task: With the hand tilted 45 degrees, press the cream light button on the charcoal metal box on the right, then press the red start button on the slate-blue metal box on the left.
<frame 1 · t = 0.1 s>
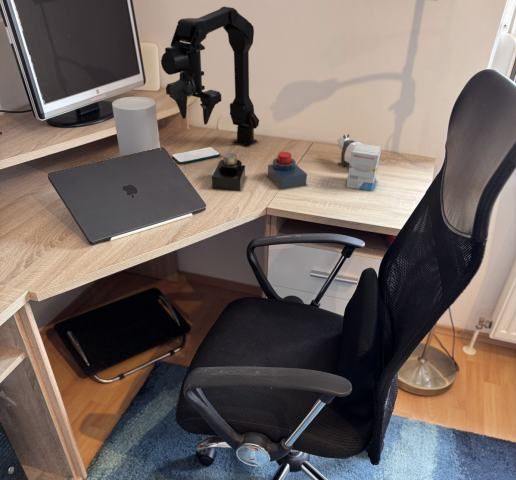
hand: (194, 121, 163), 15 cm above the table, tool pointing down, fingers open, 9 cm apart
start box: (286, 180, 165), on the table
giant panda: (349, 166, 176), on the table
start button: (284, 158, 163), point 7 cm above the table, slide at 0.1 cm
ink box: (360, 184, 165), on the table
light button: (230, 159, 161), point 7 cm above the table, slide at 0.1 cm
light box: (229, 182, 163), on the table
canister: (142, 165, 172), on the table
smartphone: (196, 157, 178), on the table
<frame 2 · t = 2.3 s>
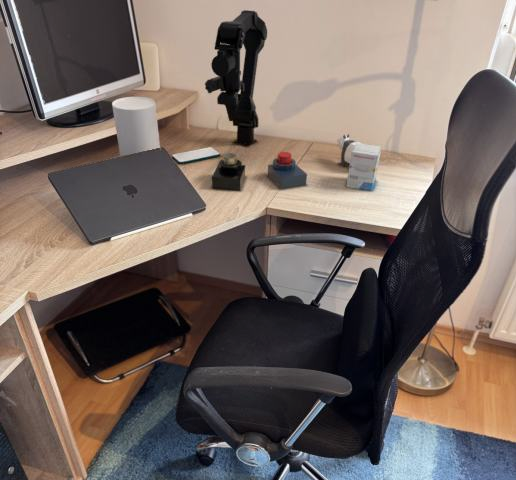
hand: (231, 119, 170), 13 cm above the table, tool pointing down, fingers open, 3 cm apart
nothing on the table moved.
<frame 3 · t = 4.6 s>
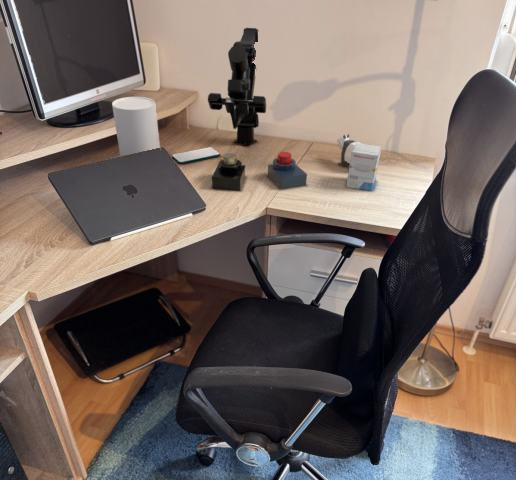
hand: (234, 128, 163), 14 cm above the table, tool tilted 45°, fingers closed
nothing on the table moved.
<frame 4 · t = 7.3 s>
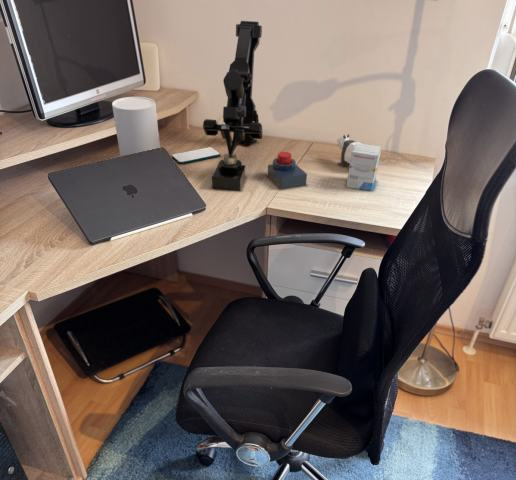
hand: (230, 154, 160), 8 cm above the table, tool tilted 45°, fingers closed, pressing on light button
light button: (230, 160, 161), point 6 cm above the table, slide at 0.0 cm, touching gripper
everything else where it was.
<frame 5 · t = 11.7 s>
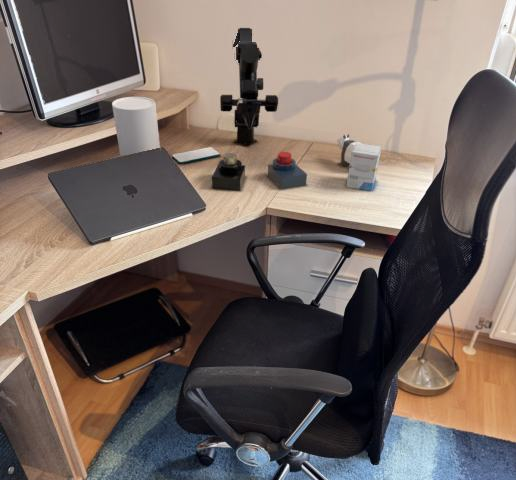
hand: (249, 128, 162), 14 cm above the table, tool tilted 45°, fingers closed
light button: (230, 159, 161), point 7 cm above the table, slide at 0.1 cm
everything else where it was.
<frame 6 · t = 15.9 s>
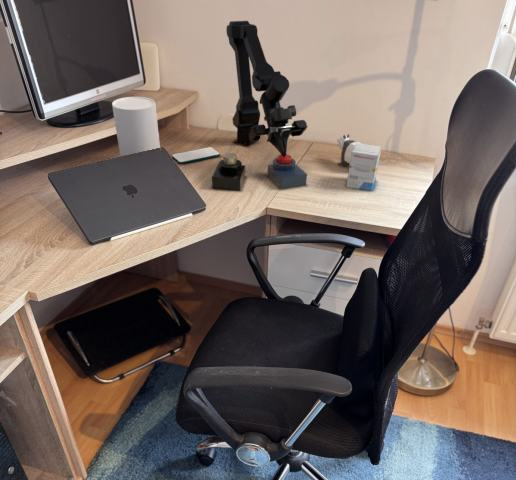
hand: (284, 155, 162), 7 cm above the table, tool tilted 45°, fingers closed, pressing on start button
start button: (284, 160, 163), point 6 cm above the table, slide at -0.7 cm, touching gripper
everything else where it was.
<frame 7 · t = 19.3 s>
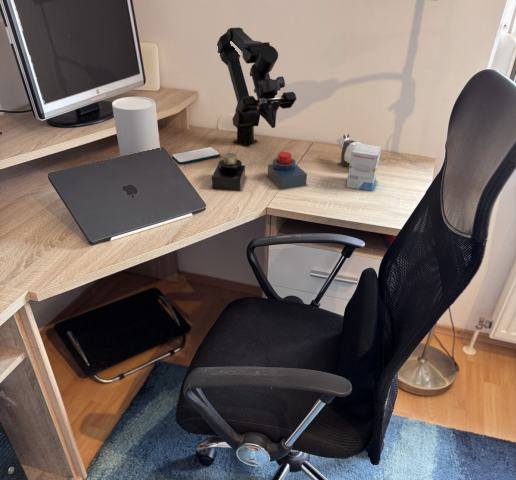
hand: (273, 127, 164), 14 cm above the table, tool tilted 45°, fingers closed
start button: (284, 158, 163), point 7 cm above the table, slide at 0.1 cm
everything else where it was.
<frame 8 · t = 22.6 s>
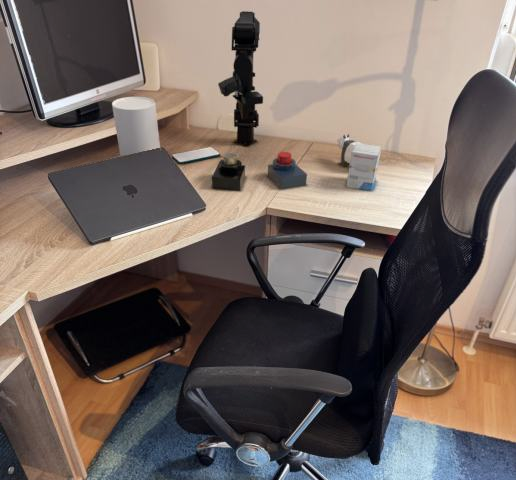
hand: (243, 119, 171), 13 cm above the table, tool pointing down, fingers closed
nothing on the table moved.
at the end: light button pushed in 1.0 cm at the most during the clip, back to where it started at the end; start button pushed in 1.0 cm at the most during the clip, back to where it started at the end; start button slide at 0.1 cm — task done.
